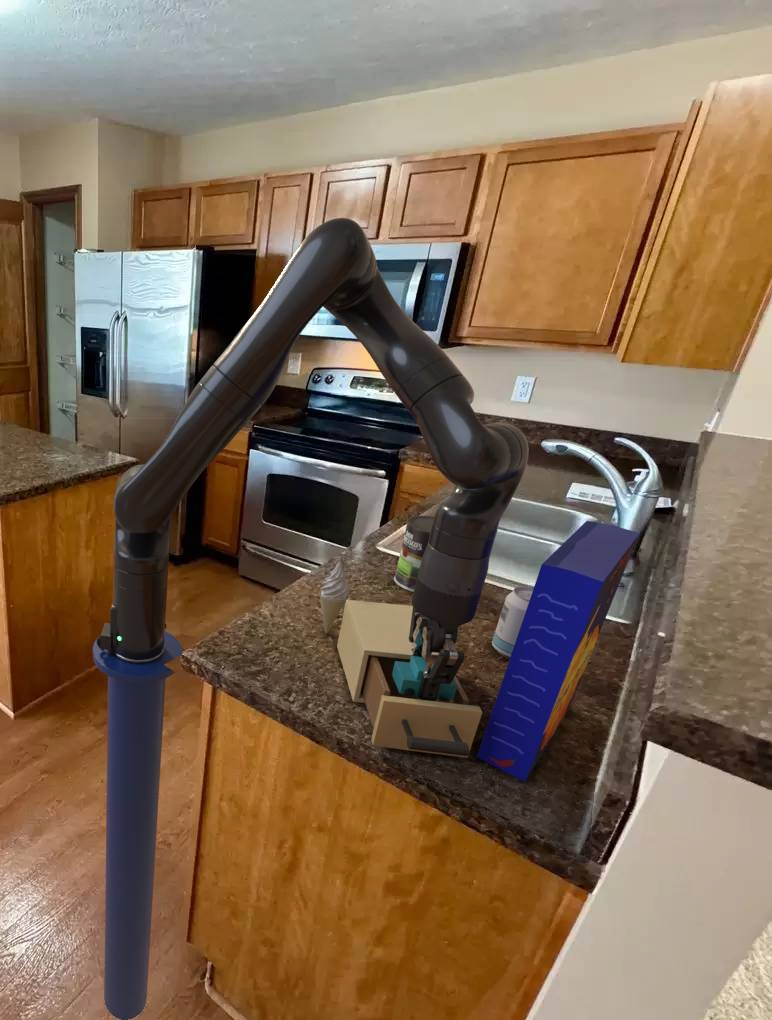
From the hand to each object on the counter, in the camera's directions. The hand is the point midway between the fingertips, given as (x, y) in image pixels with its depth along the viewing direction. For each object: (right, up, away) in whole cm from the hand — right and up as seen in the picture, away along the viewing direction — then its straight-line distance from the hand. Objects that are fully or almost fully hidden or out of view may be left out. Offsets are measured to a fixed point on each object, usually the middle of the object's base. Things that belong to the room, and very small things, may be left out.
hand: (421, 687), depth 83 cm
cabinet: (+2, -2, +15) cm, 16 cm away
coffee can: (+22, +11, +47) cm, 53 cm away
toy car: (0, 0, 0) cm, 0 cm away
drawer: (0, -7, +3) cm, 7 cm away
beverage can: (+27, 0, +23) cm, 36 cm away
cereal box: (+17, -8, +4) cm, 19 cm away
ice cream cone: (-4, +3, +28) cm, 28 cm away
